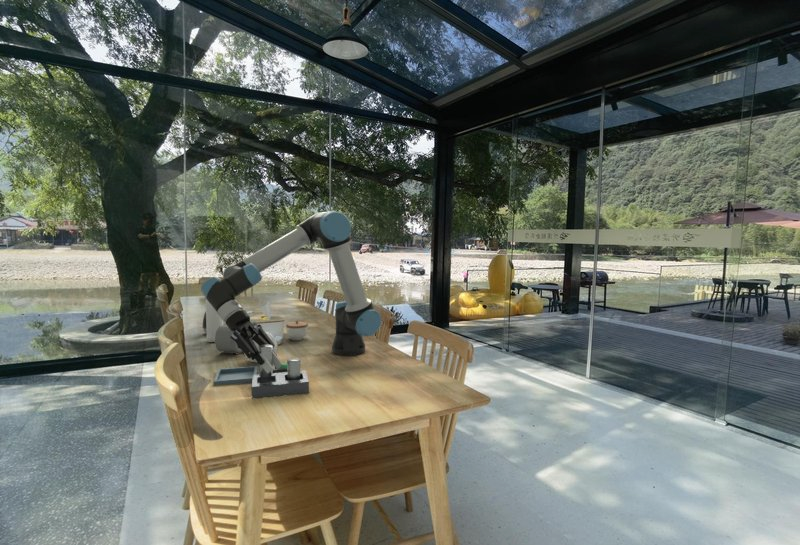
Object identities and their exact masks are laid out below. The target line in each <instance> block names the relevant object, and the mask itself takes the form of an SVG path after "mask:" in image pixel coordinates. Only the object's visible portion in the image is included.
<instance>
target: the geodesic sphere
mask: <svg viewBox="0 0 800 545" xmlns="http://www.w3.org/2000/svg"><path fill="white" fill-rule="evenodd" d="M264 332H265V333H266V334H267V336H268V337H269V338H270V339H271V341H272V342H273V343H274V345H275V346H274V347H273V351H274V352H275V353H277V349H278V342H277V339H276V338H275V337H274V336H273V335H272V333H271V332H268V331H265V330H264ZM253 342H254V343H255V345H256V347H257V349H258V351H259V345H258V344H257V343H256V342H255V341H254V340H253ZM249 354H250V353H249ZM244 356H245V357H246V359H247V360H248V361H249V362H250V363H257V364H259V363H258V362H257V361H256V359H254V360H252V359H251V358H248V357H247V356H246V355H245V354H244Z"/></svg>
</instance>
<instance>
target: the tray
mask: <svg viewBox="0 0 800 545" xmlns="http://www.w3.org/2000/svg"><path fill="white" fill-rule="evenodd" d="M253 375H258V365H253V366H240V367H239V366H238V367H227V368H218V369H217V371H216V372H215V375H214V376H215V377H214V380H213V386H214V387H215V386H222V385H223V386H224V385H225V386H226V385H237V384H246V383H247V384H248V383H252V380H253Z"/></svg>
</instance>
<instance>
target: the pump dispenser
mask: <svg viewBox="0 0 800 545" xmlns="http://www.w3.org/2000/svg"><path fill="white" fill-rule="evenodd" d="M201 326H202V327H201V328H202V329H203V332H204V333H206V334H207V330H206V310H205V312H204V315H203V319H202V325H201Z"/></svg>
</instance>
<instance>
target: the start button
mask: <svg viewBox="0 0 800 545" xmlns="http://www.w3.org/2000/svg"><path fill="white" fill-rule="evenodd" d="M281 362H282V363H283V364H282V365H281V366H280V367H279V368H278V369H284V368H287V361H281Z"/></svg>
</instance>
